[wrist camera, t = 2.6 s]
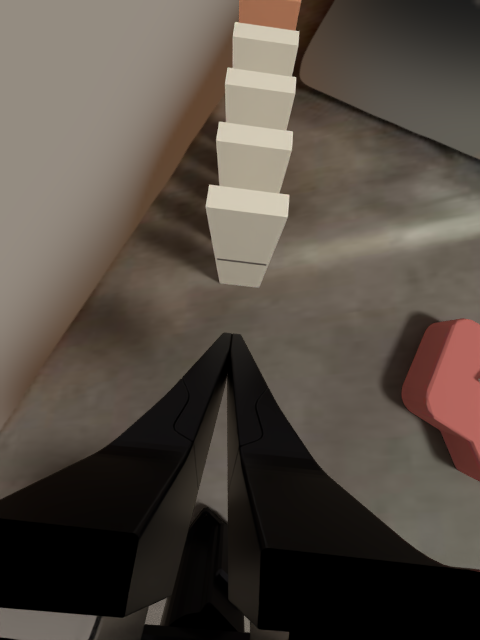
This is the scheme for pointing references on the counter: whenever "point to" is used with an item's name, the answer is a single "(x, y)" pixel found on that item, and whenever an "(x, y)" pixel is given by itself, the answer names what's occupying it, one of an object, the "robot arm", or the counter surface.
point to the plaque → (449, 388)
